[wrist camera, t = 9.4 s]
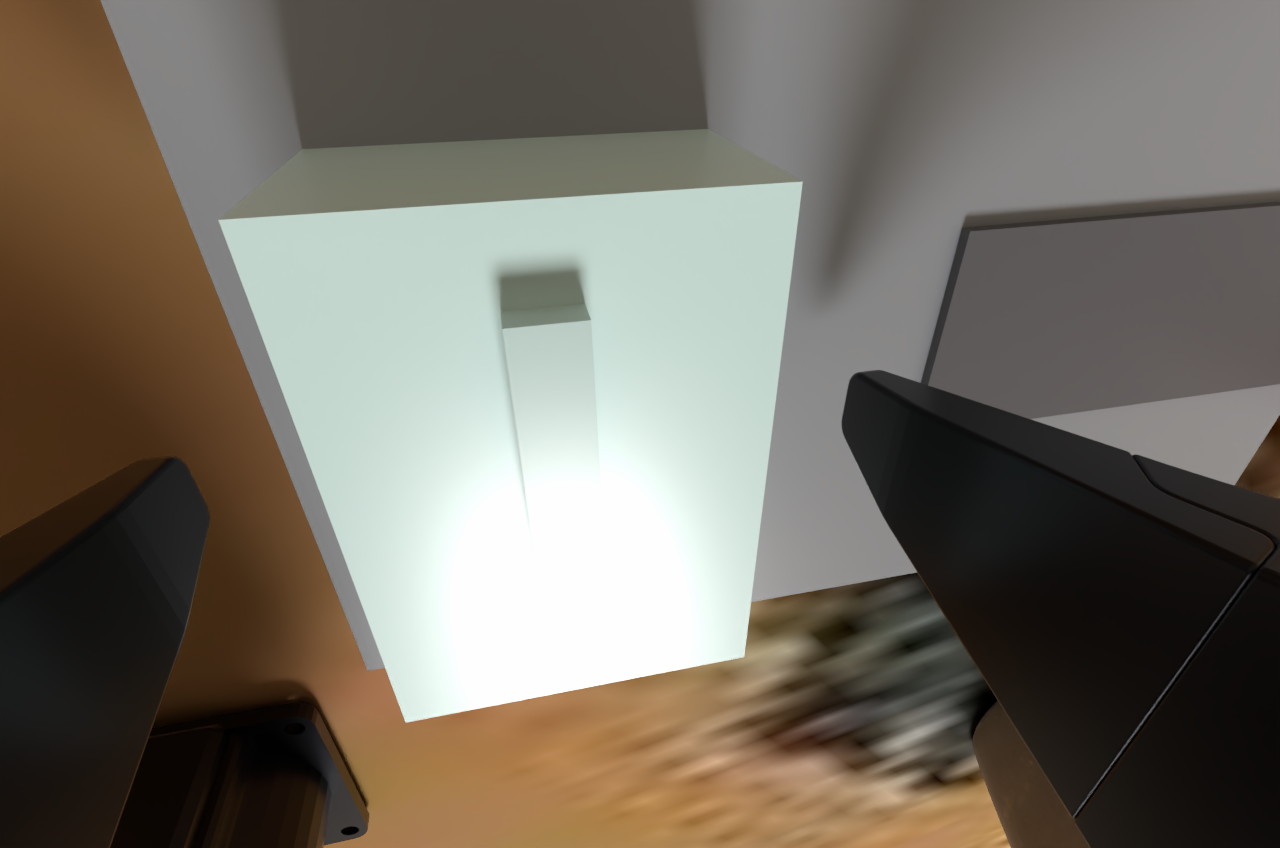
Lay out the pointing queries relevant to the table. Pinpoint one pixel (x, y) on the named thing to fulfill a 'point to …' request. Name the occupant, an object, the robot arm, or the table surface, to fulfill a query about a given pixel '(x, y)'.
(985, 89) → the housing
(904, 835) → the table surface
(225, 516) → the table surface
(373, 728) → the table surface
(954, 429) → the robot arm
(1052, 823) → the flower pot
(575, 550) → the cover
